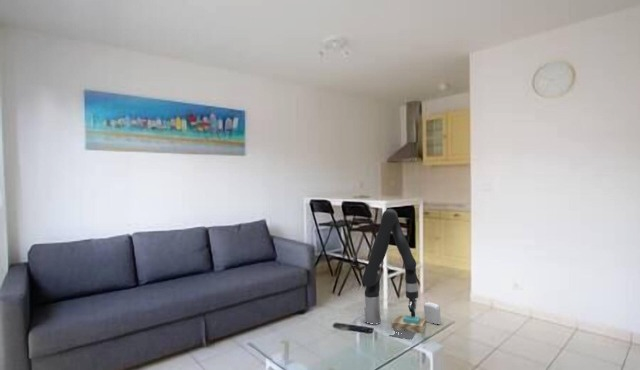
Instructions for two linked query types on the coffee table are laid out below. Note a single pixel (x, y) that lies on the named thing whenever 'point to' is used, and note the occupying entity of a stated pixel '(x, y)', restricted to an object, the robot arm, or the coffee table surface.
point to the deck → (408, 325)
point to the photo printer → (432, 313)
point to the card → (411, 319)
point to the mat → (403, 334)
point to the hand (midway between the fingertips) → (413, 317)
